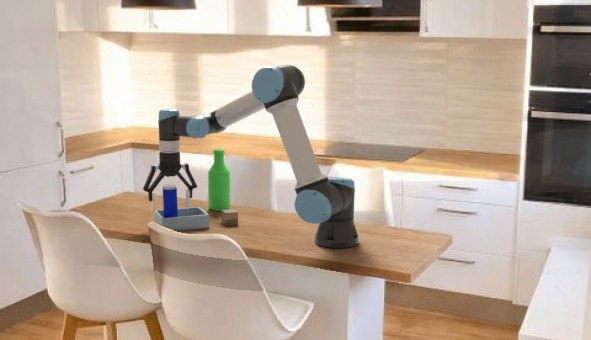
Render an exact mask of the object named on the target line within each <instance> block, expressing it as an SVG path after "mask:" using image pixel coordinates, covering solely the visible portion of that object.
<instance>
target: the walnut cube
mask: <svg viewBox="0 0 591 340" xmlns="http://www.w3.org/2000/svg"><path fill="white" fill-rule="evenodd" d="M221 223H222V224H223V225H225V226H226V227H227V226H235V225H239V211H238V210H236V209H235V208H231V209H230V208H228V209H227V210H222V211H221Z"/></svg>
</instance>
